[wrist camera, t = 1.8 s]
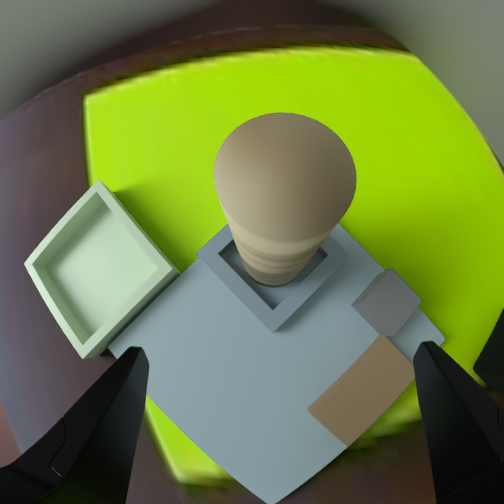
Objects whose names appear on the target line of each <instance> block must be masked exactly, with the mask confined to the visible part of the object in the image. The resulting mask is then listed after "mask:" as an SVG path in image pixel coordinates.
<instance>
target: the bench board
mask: <svg viewBox="0 0 504 504" xmlns="http://www.w3.org/2000/svg"><path fill="white" fill-rule="evenodd" d="M196 254H197V255H198V256H199V258H198V259H197V260H196V261H195V262H194V263H193V264H191V265H190V266H189V267H188V268H187V269H186V270H185V271H184V272H183V273H182V274H181V275H180V276H179V277H178V278H177V279H176V280H175V281H174V282H173V283H172V284H171V285H170V286H169V287H168V288H166V289H165V290H164V291H163V292H162V293H161V294H160V295H159V296H158V297H157V298H156V299H155V300H154V301H153V302H152V303H151V304H150V305H149V306H148V307H147V308H146V309H145V310H144V311H143V312H142V313H141V314H140V315H139V316H138V317H137V318H136V319H135V320H134V321H133V322H132V323H131V324H130V325H129V326H128V327H127V328H126V329H125V330H124V331H123V332H122V333H121V334H120V335H119V336H118V337H117V338H116V339H115V340H114V341H113V342H112V343H111V344H110V345H109V346H108V348H109V350H110V351H111V352H112V353H113V355H114V356H115V357H116V358H117V359H118V358H119V357H120V356H121V355H122V354H123V353H124V351H125V350H126V349H127V348H128V347H130V346H139V347H142V348H143V349H144V351H145V354H146V356H147V359H148V361H149V376H148V384H147V393H146V394H147V395H148V396H149V397H150V398H151V400H152V401H153V402H154V403H155V404H156V405H157V406H158V407H159V408H160V409H161V410H162V411H163V412H164V413H165V414H166V416H167V417H168V418H169V419H170V420H171V421H172V422H173V423H174V424H175V425H176V426H177V427H178V428H179V429H180V430H181V431H182V432H183V433H184V434H185V435H186V436H187V437H188V438H190V439H191V440H192V441H193V442H194V443H195V444H196V445H197V446H198V447H199V448H200V449H201V450H202V451H203V452H205V453H206V454H207V455H208V456H209V457H210V458H211V459H212V460H213V461H215V462H216V463H217V464H218V465H219V466H220V467H222V468H223V469H224V470H225V471H226V472H227V473H229V474H230V475H231V476H232V477H233V478H235V479H236V480H237V481H238V482H240V483H241V484H242V485H243V486H245V487H246V488H247V489H248V490H250V491H251V492H252V493H254V494H255V495H256V496H258V497H259V498H260V499H262V500H263V501H264V502H266V503H267V504H275V503H277V502H278V501H280V500H281V499H282V498H284V497H285V496H287V495H288V494H290V493H291V492H292V491H294V490H295V489H296V488H298V487H299V486H300V485H302V484H303V483H304V482H306V481H307V480H308V479H310V478H311V477H312V476H314V475H315V474H316V473H317V472H319V471H320V470H321V469H322V468H323V467H325V466H326V465H327V464H328V463H330V462H331V461H332V460H333V459H334V458H335V457H337V456H338V455H339V454H340V453H341V452H342V451H344V450H345V449H346V448H347V447H349V446H350V445H351V444H352V443H353V442H354V441H355V440H356V439H357V438H358V437H359V436H361V435H362V434H363V433H364V432H365V431H366V430H367V429H368V428H369V427H370V426H371V425H372V424H373V423H374V422H375V421H376V420H377V419H378V418H379V417H380V416H381V415H382V414H383V413H384V412H385V411H386V410H387V409H388V408H389V407H390V405H391V404H392V403H393V402H394V401H395V400H396V399H397V398H398V397H399V396H400V395H401V393H402V392H403V391H404V390H405V389H406V388H407V387H408V386H409V384H410V383H411V382H412V381H413V380H414V379H415V373H414V367H413V357H414V355H415V353H416V351H417V349H418V347H419V345H420V343H421V342H423V341H430V340H431V341H434V342H435V343H436V344H437V345H438V346H439V347H440V345H441V344H442V343H443V341H444V340H445V339H446V338H445V337H444V336H443V335H442V334H441V332H440V331H439V330H438V329H437V328H436V326H435V325H434V324H433V323H432V322H431V321H430V320H429V318H428V317H427V316H426V315H425V314H424V313H423V312H422V310H421V309H420V308H419V307H418V306H419V304H420V303H421V302H422V300H421V299H420V298H419V297H418V295H417V294H416V293H415V292H414V291H413V290H412V289H411V288H410V287H409V285H408V284H407V283H406V282H405V281H404V280H403V279H402V278H401V277H400V276H399V275H398V273H397V272H396V271H395V270H394V269H393V268H391V269H389V270H386V271H385V270H384V269H383V268H382V267H381V266H380V265H379V264H378V263H377V262H376V261H375V260H374V259H373V257H372V256H371V255H370V254H369V253H368V252H367V251H366V250H365V249H364V248H363V247H362V246H361V245H360V244H359V243H358V242H357V241H356V240H355V239H354V238H353V237H352V236H351V235H350V234H349V233H348V232H347V231H346V230H345V229H344V228H343V227H342V226H341V225H340V224H339V223H338V224H337V225H336V226H335V228H334V229H333V230H332V231H331V233H330V234H329V235H328V237H327V238H326V239H325V241H324V242H323V243H322V244H321V246H320V247H319V248H318V250H317V251H316V252H315V253H314V255H313V256H312V257H311V258H310V260H309V261H308V262H307V264H306V265H305V266H304V267H303V269H302V270H301V271H300V272H299V274H298V275H297V276H296V277H295V278H294V279H293V280H292V281H291V282H289V283H288V284H286V285H284V286H281V287H273V288H272V287H265V286H262V285H260V284H258V283H256V282H255V281H254V280H252V279H251V278H250V276H249V275H248V274H247V272H246V270H245V268H244V265H243V262H242V260H241V257H240V254H239V251H238V249H237V246H236V243H235V241H234V238H233V235H232V233H231V230H230V227H229V225H228V224H227V225H226V226H225V227H223V228H222V229H221V230H220V231H219V232H218V233H217V234H216V235H215V236H214V237H213V238H212V239H211V240H210V241H208V242H207V243H206V244H205V245H204V246H203V247H202V248H201V249H200V250H199V251H198V252H197V253H196Z"/></svg>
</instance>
